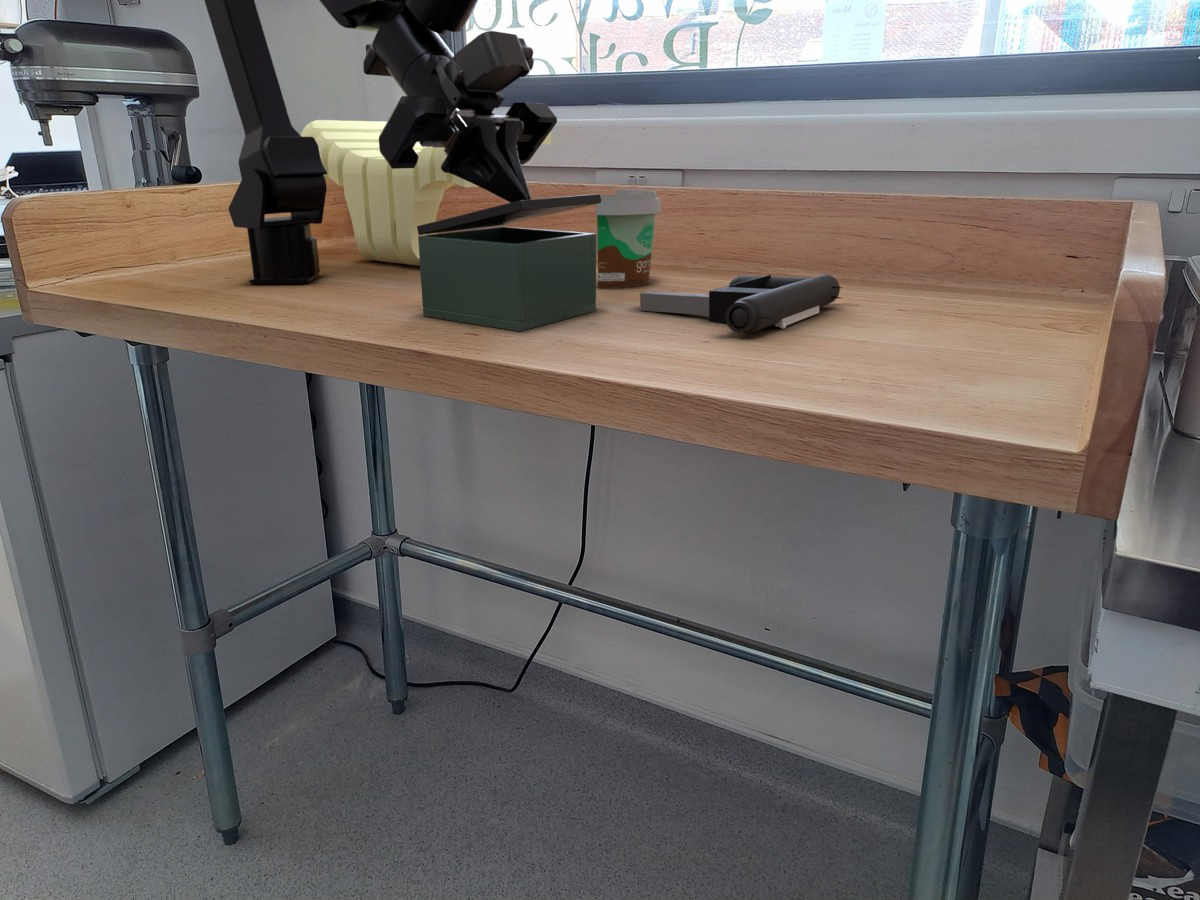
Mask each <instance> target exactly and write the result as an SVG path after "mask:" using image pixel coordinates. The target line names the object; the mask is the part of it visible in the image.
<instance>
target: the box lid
mask: <svg viewBox="0 0 1200 900" xmlns="http://www.w3.org/2000/svg"><path fill="white" fill-rule="evenodd" d="M600 195H601V194H600V193H594V194H593V193H592V194H583V195H582V194H581V195H570V196H557V197H543V198H531V200H519V201H515V202H507V203H504V204H500V205H496V206H492V207H488V208H483V209H479V210H476V211H471V212H468V213H463V214H460V215H456V216H451V217H448V218H444V219H439V220H436V221H435V222H431V223H427V224H423V225H419V226H417V230H418V234H419V235H424V234H433V233H438V234H439V233H448V232H456V231H465V230H474V229H482V228H491V227H500V226H506V225H510V224H515V223H519V222H520V223H521V222H524V221H528V220H532V219H537V218H540V217H541V218H542V217H545V216H549V215H555V214H559V213H564V212H568V211H571V210H576V209H581V208H585V207H589V206H594V205H596V204H598V203H601V202H602V201H601V196H600Z"/></svg>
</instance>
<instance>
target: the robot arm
mask: <svg viewBox="0 0 1200 900" xmlns="http://www.w3.org/2000/svg"><path fill="white" fill-rule="evenodd" d="M203 1H204V4H205V7H206V10H207V14H208V18H209V21H210V24H211V27H212V30H213V34H214V37H215V39H216V43H217V47H218V49H219V53H220V56H221V61H222V62H223V66H224V70H225V72H226V75H227V78H228V82H229V86H230V89H231V92H232V96H233V99H234V102H235V105H236V108H237V112H238V115H239V118H240V122H241V125H242V128H243V132H244V139H243V144H242V147H241V149H240V150H241V151H240V154H239V156H238V167H239V172H240V177H241V180H240V182H239V184H238V187H237V189H236V191H235V193H234V195H233V197H232V199H231V201H230V204H229V206H228V213H229V216H230V219H231V222H232V224H233V227H235V228H242V229H246V230H247V238H248V245H249V252H250V259H251V267H252V274H253V276H252V277H251V278H249V279H248V282H249V284H307V283H310V282H312V281H313V280H314V279H316V278H317V277H319V276H320V272H321V267H320V258H319V249H318V248H319V247H318V241H317V238H316V237H315V236H312V230H311V225H312V224H315V225H321V224H322V223H323V220H324V219H323V218H324V210H325V203H326V196H327V191H328V186H327V185H328V184H327V180H326V179H325V177H324V174H327V171H326V169H325V168H324V166H323V164H322V161H321V158H320V153H319V148H318V144H317V142H316V141H315V139H314V138H313V137H302V136H301V133H299V131H297V130H296V129H295V127H294V126H293V124H292V122H291V118H290V114H289V111H288V108H287V104H286V101H285V99H284V95H283V92H282V88H281V85H280V81H279V78H278V74H277V71H276V67H275V65H274V61H273V58H272V55H271V51H270V48H269V44H268V41H267V37H266V34H265V31H264V28H263V25H262V21H261V18H260V14H259V11H258V8H257V4H256V1H255V0H203ZM318 1H319V2H320V3H321V5H322V6H323V7H324V8H325V10H326V11H327V12H328V13H329V14H330V16H331V17H332V18H333V20H335V22H336V23H337V24H338V25H339V26H341V27H343V28H344V29H352V30H360V31H368V32H374V33H375V32H376V34H375V36H374V38H373V40H372V42H371V44H370V43H367V44H366V45H365V56H364V60H363V66H362V68H363V70H362V71H363V73H364V74H365V75H366V76H367V75H368V76H377V77H378V76H379V77H392V78H393V80H394V81H395V83H396V84H397V85H398V86H399V88H400V90H401V91H402V92H403V93H404V96H403V95H402V96H400V98H399V100H398V102H397V103H396V105H395V107H394V109H393V111H392V113H390V116H389V118H388V120H387V121H386V122H387V123H386V125H385V127H384V128H383V130H382V132H381V134H380V136H379V149H380V153H381V154H382V156H383V157H384V158H385V160H386V161H387V162H388V164H389V165H390V167H391V168H392V169H400V168H414V167H415V166H416V164H417V161H418V157H419V156H418V155H417V153H416V152H415V151H414V149H413V147H414V146H415V144H416V142H419V143H420V145H421V146H422V147H444V148H445V149H444V153H445V154H446V155H447V157H446V159H445V160H444V162H443V164H442V165H441V170H442V171H443V172H445V173H451V174H453V175H455V176H458V177H460V178H462V179H464V180H466V181H468V182H471V183H473V184H475V185H477V186H479V187H478V188H482V189H483V190H485V191H487V192H489V193H491V194H493V195H495V196H497V197H498V198H501V199H502V200H505V201H507V202H508V203H511V202H515V201H519V200H531V199H532V196H531V193H530V190H529V186H528V183H527V180H526V177H525V175H524V170H523V168H522V166H523V165H525V164H526V163H528V162H530V161H531V159H532V158H533V157H534V155H535V154H536V153H537V151H538V149H539V148H540V147H541V146H542V145H543V144H542V143H543V141H544V140H545V138H546V137H547V136H548V134H549V133H550V131H551V132H552V131H553V130H554V129H553V128H554V127H555V126H556V125H557V124H558V118H557V116H556V114H555V113H554V112H553V111H552V110H551V108H550V107H549V106H548V104H547V103H541V102H540V103H539V102H526V101H525V102H513V103H512V104H511V106H510V108H509V109H508V111H507V112H506V113H505V115H496V114H495V113H494V110H495V109H499V108H500V106H501V104H502V103H503V102H504V100H505V96H504V95H503V94H502V93H501V91H503V90H504V89H506V88H508V87H509V86H510V85H512V84H513V83H514V82H516V81H517V80H519V79H521V78H524V77H526V76H528V75H529V74H530V72H531V70H532V69H533V68H534V64H535V63H534V62H535V60H534V58H533V57H534V50H533V48H532V47H531V46H528V45H527V43H526V41H525V39H524V38H521V37H519V36H518V35H517V34H514V33H508V32H502V31H495V30H488V31H485V32H482V33H480V34H478V35H477V36H475V38H473V39H472V40H470V41H469V42H468V43H467V44H466V45H464V46H463V47H462V48H461V49H459V50H458V51H457V52H456V53H455V54H454V53H453V52H452V50H451V49H450V48H449V47H448V45H447V44H446V43H445V42H444V39H442V38H441V35H445V34H448V32H451V33H460V32H461V31H463V30H464V27H465V26H466V24H467V22H468V21H469V19H470V17H471V16H472V14H473V12H474V10H475V9H476V7H477V5H478V4H479V2H480V0H318ZM288 213H290V215H287V216H286V215H285V216H273V217H266V215H276V214H288Z"/></svg>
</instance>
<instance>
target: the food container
mask: <svg viewBox="0 0 1200 900" xmlns="http://www.w3.org/2000/svg"><path fill="white" fill-rule="evenodd" d="M657 194H658V193H657V191H654V190H653V191H652V190H646V189H645V190H644V189H624V188H623V189H619V188H617V189H615V194H600V196H601V201H602V202H601V203H598V204H595V216H596V232H597V233H596V243H597V288H598V289H600V288H601V289H620V288H621V289H622V288H623V289H624V288H635V287H641V286H645V285H647V284H649V283H650V274H651V263H652V253H653V245H654V244H653V242H654V232H655V223H656V222H655V221H656V220H655V219H656V214H659V213H661V212H662V208H661V202H660V198H659V197H658V195H657Z"/></svg>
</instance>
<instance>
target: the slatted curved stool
mask: <svg viewBox="0 0 1200 900" xmlns="http://www.w3.org/2000/svg"><path fill="white" fill-rule="evenodd" d="M386 123H387V121H380V120H379V121H375V120H344V119H343V120H339V119H337V120H336V119H315V120H312V121H310V122H308V123H307V124H306V125H305V126H304V128H303V129H302V131H301V133H300V135H301V136H302V137H313V138H314V139H315V141H316V142H317V144H318V148H319V153H320V158H321V161H322V164H323V166H324V168H325V169H326V171H327V174H324V177H325V180H326V179H330V180H332V181H333V182H334V183H335V184H337V186H338V187H343V194H344V196H343V197H344V199H345V202H346V205H347V209H348V212H349V216H350V219H351V220H350V221H351V224H352V228H353V229H352V230H353V237H354V241H355V245H356V249H357V250H358V253H359V254H360V256H361V257H362V258H363V259H365V260H367V261H375V262H382V263H383V262H385V263H391V264H400V265H408V266H415V267H416V266H417V267H420V257H419V242H418V236H422V235H419V234H418V230H417V226H419V225H423V224H427V223H431V222H435V221H437V216H438V212H439V208H440V205H441V204H442V201H443V197H444V194H445V190H448V189H450V188H451V187H452V186H454V185H458V186H460V187H462V188H480V187H479V186H477V185H475V184H473V183H471V182H468V181H466V180H464V179H462V178H460V177H458V176H455V175H453V174H451V173H445V172H443V171H442V170H441V165H442V164H443V162H444V160H445V159H446V157H447V155H446V154H445V153H444V149H445V148H444V147H422V146H421V145H420V142H416V144H415V146H414V147H413V149H414V151H415V152H416V153H417V155H418V156H419V157H418V161H417V164H416V166H415V167H414V168H400V169H392V168H391V167H390V165H389V164H388V162H387V161H386V160H385V158H384V157H383V156H382V154H381V153H380V149H379V136H380V134H381V132H382V130H383V128H384V127H385V125H386ZM541 145H552V130H551V131H550V133H549V134H548V136H547V137H546V138H545V140H544V141H543V143H542V144H541ZM433 234H439V233H433ZM424 235H430V234H424Z"/></svg>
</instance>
